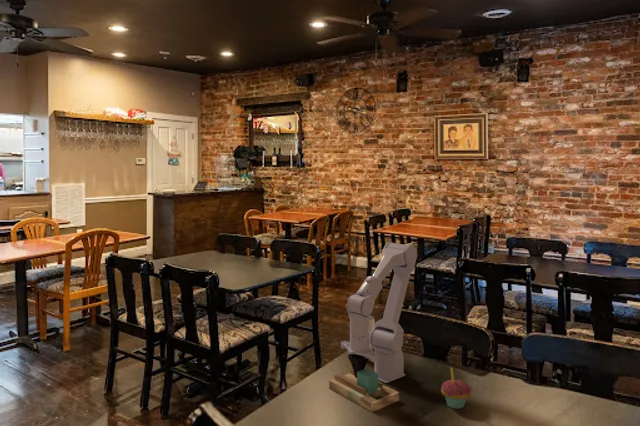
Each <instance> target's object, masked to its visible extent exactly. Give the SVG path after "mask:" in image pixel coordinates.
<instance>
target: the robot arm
mask: <svg viewBox="0 0 640 426" xmlns="http://www.w3.org/2000/svg"><path fill="white" fill-rule="evenodd" d="M417 258H418V253H417V250H416V247H415V246H414V245H413V244H401V243H397V242H391V241H388V242H387V243H385V244H384V247H383V249H382V250H381V259H380V261H379V263H378V265H377V267H376V269H375V270H374V272H373V274H372V275H370V276H369V275H368V276H367V277H366V278H365V280H363V283H362V284H361V286H360V287H359V288H358V290H357V291H356V292H355V294H351V295H350V296H349V297H348V298H347V300H346V304H345V308H346V311H347V314H348V315H347V316H348V318H349V341H347V340H344V341H341V342H340V348H341V349H345V350H347V353H348V355H347V359H348V360H349V362H350V364H351V366H352V369H353V371H354V375H355V378H357V372H358V371H361V370H363V369H366V366H367V364H368V361H369V359H370V360H372V361H371V363H374V372H376V373H378V381H379V382H381V383H383V384H388V383H390V382H393V381H395V380H397V379H401V378H402V377H406V373H404V372H405V371H404V361H405V360H404V359H405V357H404V352H403V350H402V348H403V344H404V333H405V331H404V329H403V327H402V326H401V325H400V323H399V320H400V317H401V312H402V309H403V304H404V301H405V297H406V294H407V289H408V285H409V280H410V277H411V273H413V272H414V270H415V266H416V262H417ZM391 271H393V277H392V280H391V285H390V289H389V291H388V295H387V300H386V304H385V308H384V311H383V316H382V318H381V319H379V320H378V321H376V322H375V325H374V328H373V330H372V331H371V333H370V337H369V315H370V316H371V314H372V313H373V311H374V310H373V309H374V305H375V302H376V299H377V297H378V295H379V294H380V292H381V290H382V289H383V281H384V280H385V278H386V277H387V276H388V275H389V274H390V272H391ZM369 339H370V344H371V345H372V350H371V349H370V348H369ZM373 350H374V351H373ZM369 362H370V361H369Z"/></svg>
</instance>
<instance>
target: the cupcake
mask: <svg viewBox="0 0 640 426" xmlns="http://www.w3.org/2000/svg"><path fill="white" fill-rule="evenodd" d="M450 377H451V379H447V380H446V381H444V382H443V383H442V384H441V387H440V392H441V394H442V395H443V396H444V398H445V401H446V404H447V406H448V407H450V408H452V409H454V410H455V409H456V410H458V409H463V408H464V406H465V405H466V401H467V400H468V399H469V398H470V397H471V395H472V389H471V387H470V385H469V384H467V382H465V381H463V380H462V379H456V378H455V375H454V369H453V367H452V366H450Z"/></svg>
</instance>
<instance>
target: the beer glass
mask: <svg viewBox="0 0 640 426" xmlns="http://www.w3.org/2000/svg"><path fill="white" fill-rule="evenodd" d="M375 323H376V322H375V317H374V316H373V315H371V314H370V315H369V337H370V333H371V331H372V330H373V328H374V325H375ZM369 348H370V349H371V350H372V351H373V346H372V345H371V344H370V339H369ZM368 362H372V360H370V359H369V361H368ZM368 362H367V363H368Z"/></svg>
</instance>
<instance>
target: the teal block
mask: <svg viewBox="0 0 640 426" xmlns="http://www.w3.org/2000/svg"><path fill="white" fill-rule="evenodd" d="M378 381H379V380H378V373H376V372H375V371H373V370H371V369H369V368H366V367H365V369H363V370H361V371H358V372H357V385H358V386H360V387H362V388H364V389H366V390H367V393H368V394H369V393H371V392H374V391H376V390H378Z"/></svg>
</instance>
